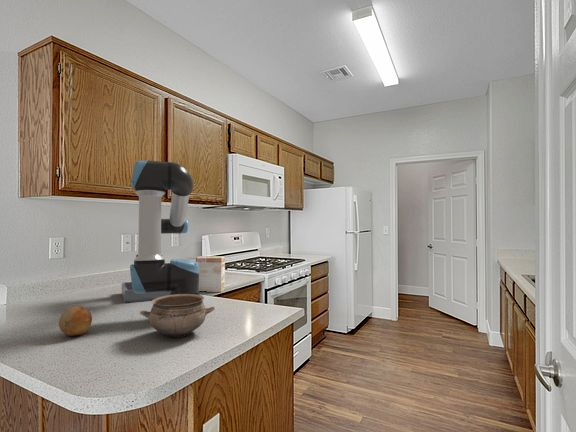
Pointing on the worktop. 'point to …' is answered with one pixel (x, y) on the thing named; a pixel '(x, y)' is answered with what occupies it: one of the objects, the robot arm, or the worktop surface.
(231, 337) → the worktop surface
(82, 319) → the onion
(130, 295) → the box
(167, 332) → the cooking pot
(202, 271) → the coffeecake box
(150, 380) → the worktop surface
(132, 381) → the worktop surface
